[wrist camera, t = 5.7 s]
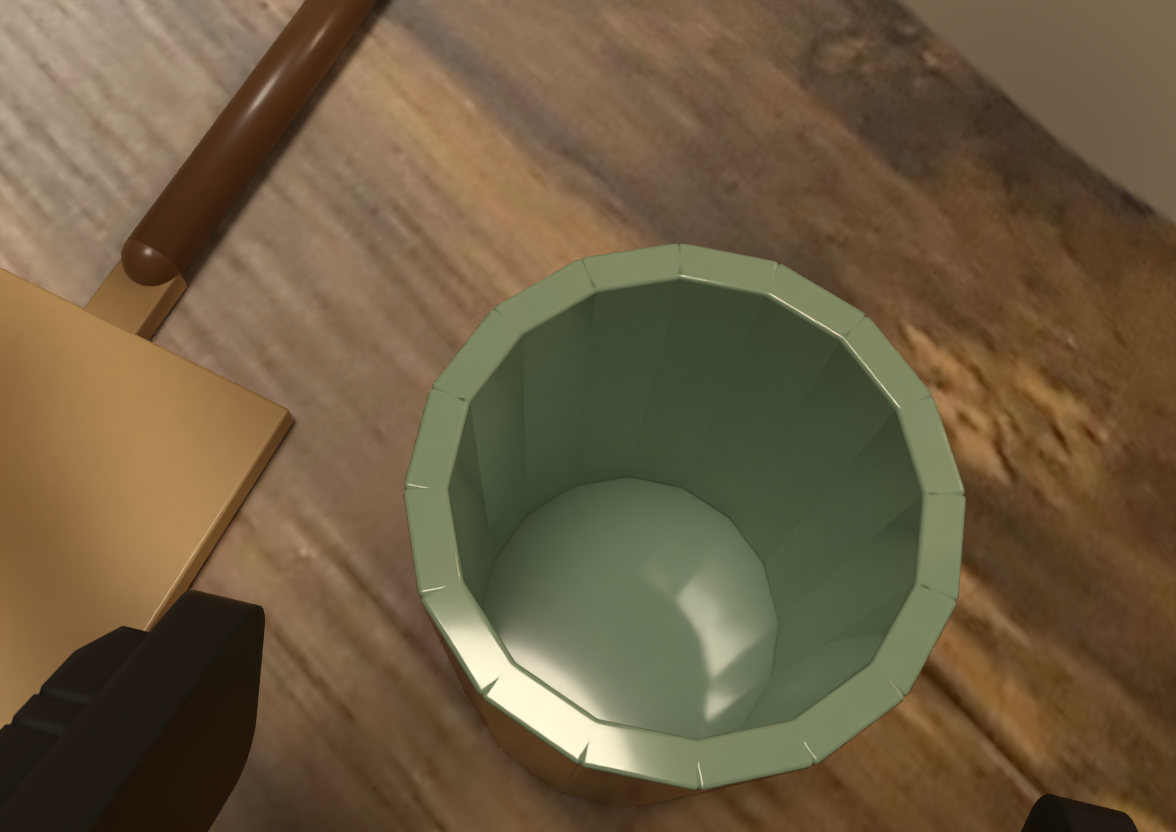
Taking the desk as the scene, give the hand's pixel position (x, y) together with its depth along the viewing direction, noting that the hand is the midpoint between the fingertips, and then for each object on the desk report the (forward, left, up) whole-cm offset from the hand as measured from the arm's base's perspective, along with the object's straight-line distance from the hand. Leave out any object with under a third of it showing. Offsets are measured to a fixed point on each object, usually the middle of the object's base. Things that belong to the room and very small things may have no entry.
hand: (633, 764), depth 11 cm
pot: (+2, -2, -8) cm, 9 cm away
